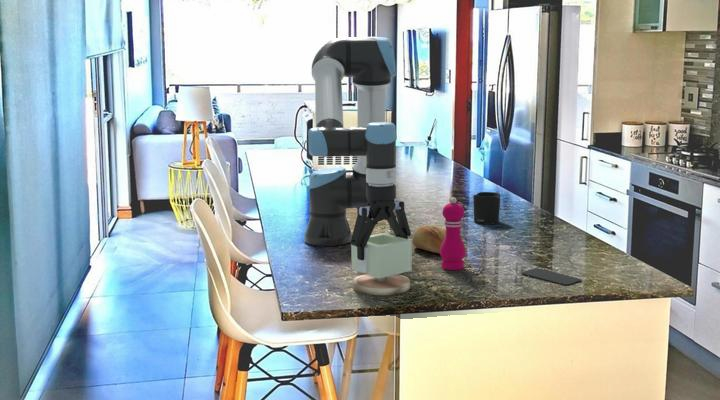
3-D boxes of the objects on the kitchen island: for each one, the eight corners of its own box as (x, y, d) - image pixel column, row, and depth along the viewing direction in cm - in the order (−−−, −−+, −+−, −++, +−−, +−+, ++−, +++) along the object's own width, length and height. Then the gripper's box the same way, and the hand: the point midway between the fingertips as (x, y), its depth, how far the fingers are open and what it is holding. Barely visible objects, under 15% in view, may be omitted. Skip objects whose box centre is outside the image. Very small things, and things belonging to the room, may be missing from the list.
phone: (567, 285, 203) (519, 272, 214) (566, 288, 204) (519, 275, 215) (583, 279, 208) (536, 267, 219) (583, 282, 208) (536, 270, 219)
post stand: (384, 275, 215) (384, 248, 214) (422, 287, 203) (422, 259, 202) (340, 285, 206) (340, 257, 204) (377, 299, 194) (377, 269, 193)
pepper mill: (463, 263, 226) (464, 194, 222) (467, 270, 218) (468, 199, 215) (438, 264, 225) (438, 195, 222) (441, 271, 218) (442, 200, 214)
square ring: (383, 262, 211) (383, 232, 210) (411, 270, 203) (411, 240, 201) (351, 269, 205) (351, 239, 203) (378, 278, 196) (378, 247, 195)
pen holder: (468, 220, 282) (468, 192, 280) (492, 218, 285) (492, 191, 283) (480, 225, 273) (480, 197, 272) (504, 223, 276) (505, 195, 274)
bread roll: (436, 259, 231) (437, 232, 230) (404, 249, 243) (404, 223, 241) (460, 253, 237) (461, 227, 235) (427, 244, 249) (427, 219, 247)
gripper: (353, 191, 189) (354, 279, 194) (425, 180, 204) (424, 262, 208) (335, 187, 195) (336, 272, 199) (405, 177, 210) (405, 257, 214)
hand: (381, 267), depth 204 cm, fingers closed on square ring, 11 cm apart
